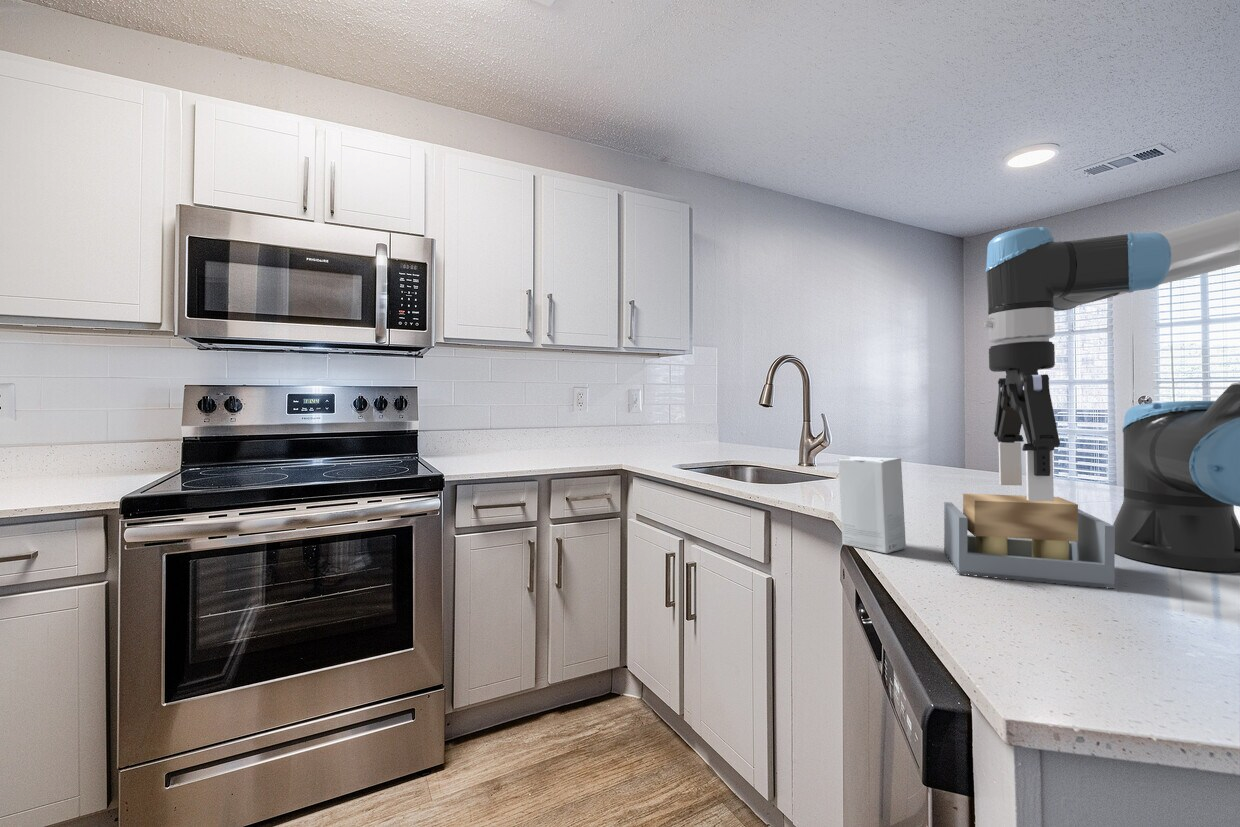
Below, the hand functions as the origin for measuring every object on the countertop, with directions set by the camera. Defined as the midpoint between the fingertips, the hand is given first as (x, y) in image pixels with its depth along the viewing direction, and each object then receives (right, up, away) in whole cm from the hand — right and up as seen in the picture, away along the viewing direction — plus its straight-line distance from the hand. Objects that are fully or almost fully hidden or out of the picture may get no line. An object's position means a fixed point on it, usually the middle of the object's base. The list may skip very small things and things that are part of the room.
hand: (1024, 492), depth 78 cm
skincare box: (-16, -11, +13) cm, 23 cm away
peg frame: (0, -11, 0) cm, 11 cm away
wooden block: (-1, -6, 0) cm, 6 cm away
